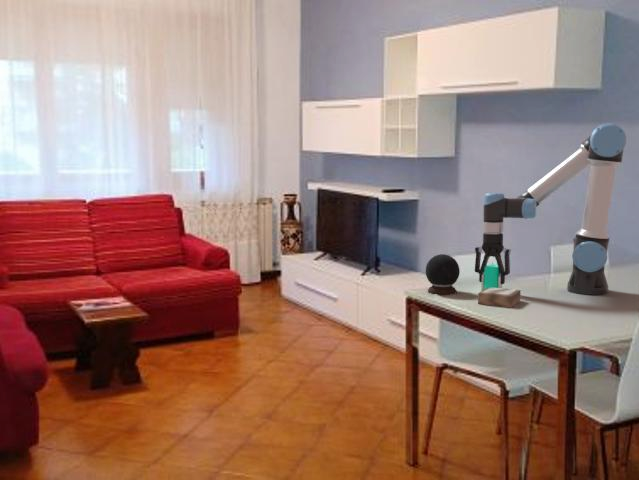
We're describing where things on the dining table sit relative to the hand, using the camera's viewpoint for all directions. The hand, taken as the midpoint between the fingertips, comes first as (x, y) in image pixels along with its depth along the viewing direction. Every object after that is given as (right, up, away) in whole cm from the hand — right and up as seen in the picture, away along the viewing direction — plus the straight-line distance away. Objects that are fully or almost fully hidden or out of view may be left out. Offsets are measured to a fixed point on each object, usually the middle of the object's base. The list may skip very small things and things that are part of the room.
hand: (491, 291), depth 281 cm
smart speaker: (-19, -1, +1) cm, 19 cm away
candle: (0, -1, 0) cm, 1 cm away
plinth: (-1, -3, -18) cm, 18 cm away
